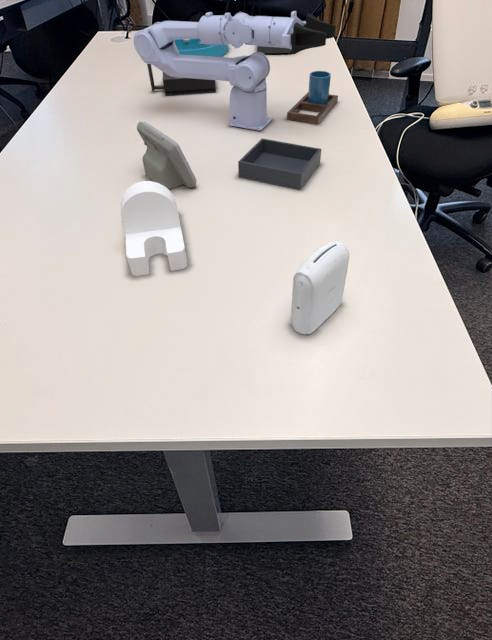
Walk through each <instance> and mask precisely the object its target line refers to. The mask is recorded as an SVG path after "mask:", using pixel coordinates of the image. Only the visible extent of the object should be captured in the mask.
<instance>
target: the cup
mask: <svg viewBox="0 0 492 640" xmlns="http://www.w3.org/2000/svg"><path fill="white" fill-rule="evenodd" d="M331 76H332V74H331V73H330V72H329V71H325V70H314V71H311V72H310V73H309V77H308V78H309V79H308V92H307V93H308V102H309V103H316V104H322V105H327V104H328V98H329V94H330V87H331V78H332V77H331Z"/></svg>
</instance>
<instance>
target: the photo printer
mask: <svg viewBox="0 0 492 640" xmlns="http://www.w3.org/2000/svg"><path fill="white" fill-rule="evenodd" d="M350 255H351V254H350V251H349V249H348V246H347V245H346V244H345V243H343V242H340V241H339V240H334V241H329V242H327V243H326V244H323V245H322V246H320V247H319V248H317V249H316V250H314V251H313V252H312V253H311V254H310V255H309V256H308V257H307V258H305V260H304V261H303V262H302V263H301V264H300V265H299V267H298V268H297V270H296V271H295V273H294V275H293V278H292V293H291V310H290V311H291V313H290V324H291V326H292V328H293V331H295V332H297V333H298V334H301V335H304V336H305V335H310V334H312V333H314V332H315V331H316V330H317V329H318V328H319V327H320V326H322V325H323V324H324V322H326V321H327V320H328V319H329V318H330V317H331V316H332V315H333V314H334V313H335V311H337V309H338V308H339V307H340V306H341V304H342V301H343V296H344V292H345V285H346V280H347V274H348V269H349V262H350Z"/></svg>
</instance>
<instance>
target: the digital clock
mask: <svg viewBox="0 0 492 640" xmlns="http://www.w3.org/2000/svg"><path fill="white" fill-rule="evenodd" d="M136 131H137V132H138V134H139V136H140V138H141V140H142V141H143V145H144V146H146V149H145V153H144V154H143V155H142V159H141V160H142V164H143V167H144V174H145V176H146V177H147V178H148V179H150V181H152V182H156V183H159V184H161V185H163V186H165V187H166V188H167V189H168V190H172V189H174V188H177V187H180V186H182V185H184V186H186V187H187V188H194V187H196V186H197V178H196V175H195V174H194V172H193V170H192V168H191V165H190V164H189V162H188V160H187V158H186V157H185V154H184V152H183V151H182V149H181V146H180V145H179V144H178V142H177V141H175V140H174V139H172V138H171V137H170V136H168V135H167V134H165V133H163V132H162V131H161V130H160V129H157V128H156V127H154V126H153V125H151V124H150V123H148V122H146V121H139V122H138V123H137V125H136Z"/></svg>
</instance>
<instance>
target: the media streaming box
mask: <svg viewBox="0 0 492 640" xmlns="http://www.w3.org/2000/svg"><path fill="white" fill-rule="evenodd" d="M256 50H257V51H256V52H261V53H263V54H292V49H289V48H278V47H264V46H256Z"/></svg>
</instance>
